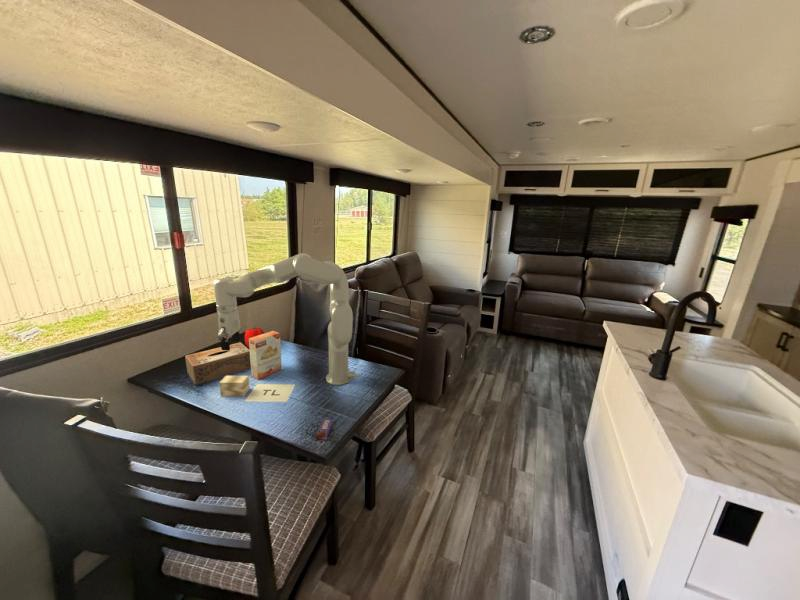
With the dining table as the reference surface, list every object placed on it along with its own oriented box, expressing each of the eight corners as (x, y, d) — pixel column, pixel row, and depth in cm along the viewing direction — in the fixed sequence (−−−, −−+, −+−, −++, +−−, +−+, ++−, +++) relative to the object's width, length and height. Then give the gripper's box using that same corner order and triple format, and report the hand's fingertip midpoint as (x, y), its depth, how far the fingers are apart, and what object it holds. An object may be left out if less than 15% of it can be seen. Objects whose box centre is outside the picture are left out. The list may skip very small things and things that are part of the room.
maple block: (249, 389, 142) (248, 375, 140) (244, 396, 136) (242, 382, 135) (227, 389, 141) (225, 375, 139) (221, 396, 136) (219, 382, 134)
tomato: (258, 353, 177) (256, 332, 174) (240, 350, 180) (238, 329, 177) (271, 345, 188) (269, 325, 185) (253, 342, 191) (252, 323, 187)
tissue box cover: (195, 385, 143) (192, 366, 140) (187, 373, 153) (185, 355, 150) (252, 368, 161) (250, 351, 158) (242, 358, 171) (240, 342, 168)
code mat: (295, 384, 147) (295, 384, 147) (286, 401, 134) (286, 401, 134) (257, 384, 146) (257, 384, 146) (244, 401, 133) (244, 401, 132)
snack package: (323, 416, 124) (335, 417, 123) (323, 420, 124) (335, 421, 124) (313, 436, 112) (326, 437, 112) (313, 440, 113) (326, 441, 113)
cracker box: (258, 380, 149) (255, 341, 144) (251, 376, 152) (247, 338, 147) (282, 369, 161) (280, 332, 155) (275, 366, 164) (273, 329, 158)
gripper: (226, 314, 120) (230, 354, 125) (244, 302, 137) (248, 337, 141) (206, 314, 120) (211, 353, 124) (227, 301, 136) (231, 337, 141)
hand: (231, 345), depth 133 cm, fingers open, 9 cm apart
